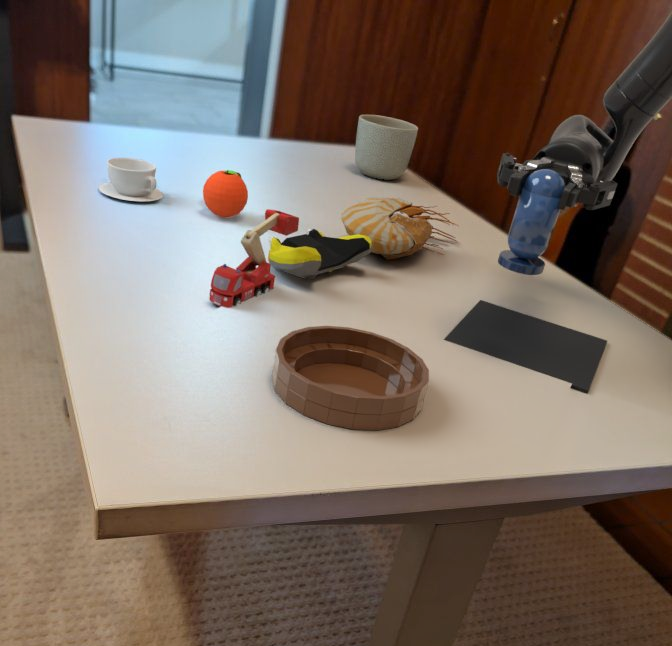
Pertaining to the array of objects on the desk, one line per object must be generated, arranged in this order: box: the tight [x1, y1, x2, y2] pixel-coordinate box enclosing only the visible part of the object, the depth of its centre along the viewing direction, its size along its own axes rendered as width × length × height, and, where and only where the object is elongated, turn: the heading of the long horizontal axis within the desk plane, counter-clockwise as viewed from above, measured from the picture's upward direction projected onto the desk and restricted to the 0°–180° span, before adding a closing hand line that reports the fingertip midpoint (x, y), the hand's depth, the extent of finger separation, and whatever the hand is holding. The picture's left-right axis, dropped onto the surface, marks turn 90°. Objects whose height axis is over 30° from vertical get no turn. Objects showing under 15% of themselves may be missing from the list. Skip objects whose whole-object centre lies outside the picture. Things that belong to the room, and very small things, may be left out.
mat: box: [443, 299, 608, 394], centre depth 96 cm, size 18×18×1 cm
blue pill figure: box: [497, 169, 565, 276], centre depth 83 cm, size 5×5×11 cm
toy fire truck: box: [209, 208, 300, 309], centre depth 91 cm, size 3×14×10 cm, turn 151°
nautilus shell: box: [340, 196, 459, 261], centre depth 116 cm, size 8×22×15 cm
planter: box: [354, 114, 419, 181], centre depth 158 cm, size 12×12×11 cm
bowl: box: [271, 325, 430, 431], centre depth 75 cm, size 15×15×4 cm
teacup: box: [97, 157, 164, 202], centre depth 119 cm, size 10×10×5 cm
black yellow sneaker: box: [267, 228, 372, 280], centre depth 103 cm, size 15×6×10 cm
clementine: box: [202, 169, 249, 219], centre depth 117 cm, size 8×7×7 cm
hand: (540, 192), depth 79 cm, fingers closed on blue pill figure, 4 cm apart
